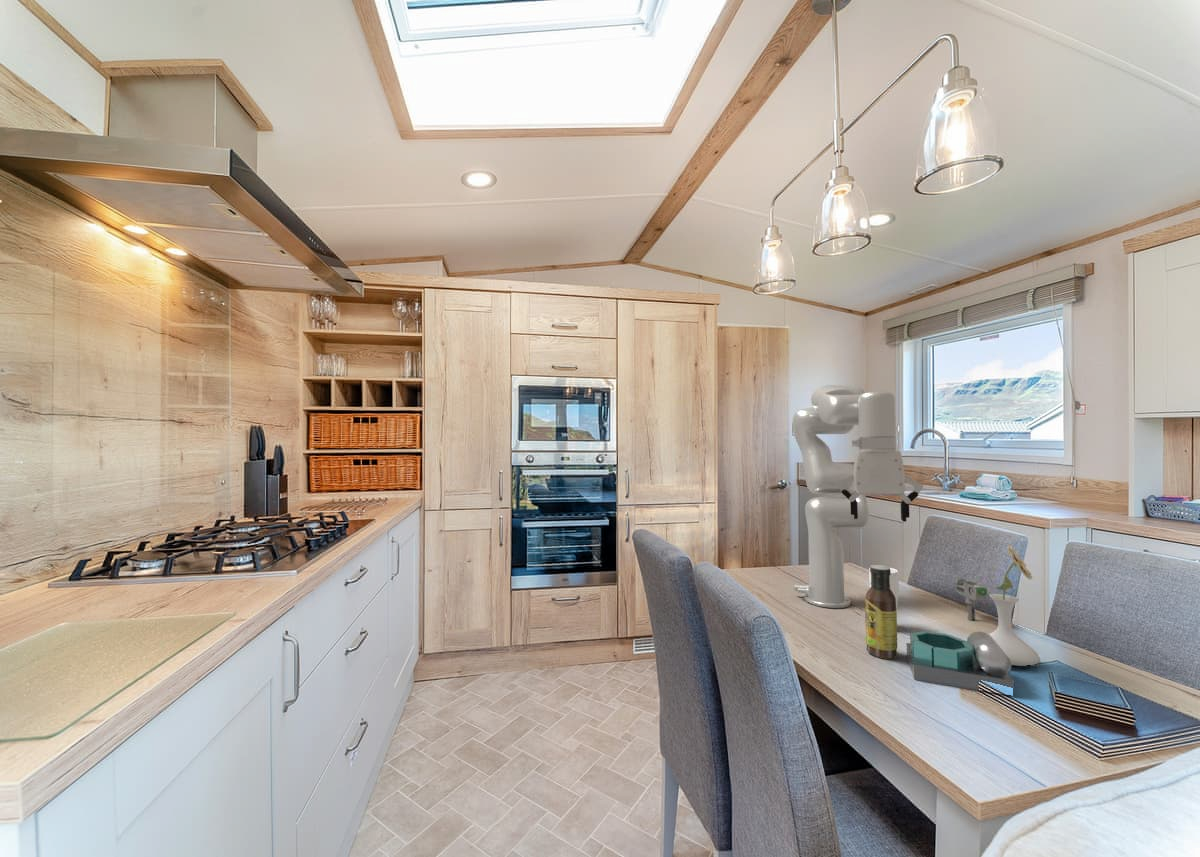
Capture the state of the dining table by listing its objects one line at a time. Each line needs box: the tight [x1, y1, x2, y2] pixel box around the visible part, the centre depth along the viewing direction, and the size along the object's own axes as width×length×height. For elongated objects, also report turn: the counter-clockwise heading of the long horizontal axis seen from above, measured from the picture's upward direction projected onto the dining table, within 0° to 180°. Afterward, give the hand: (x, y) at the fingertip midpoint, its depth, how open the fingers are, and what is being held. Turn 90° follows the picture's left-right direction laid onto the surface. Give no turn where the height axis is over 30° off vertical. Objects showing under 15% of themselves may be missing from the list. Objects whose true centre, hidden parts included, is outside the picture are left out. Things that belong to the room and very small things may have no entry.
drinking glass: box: [868, 567, 900, 610], centre depth 128 cm, size 7×7×15 cm
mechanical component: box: [955, 578, 988, 621], centre depth 133 cm, size 3×10×10 cm, turn 174°
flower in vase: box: [988, 544, 1041, 667], centre depth 109 cm, size 13×11×25 cm
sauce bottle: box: [864, 564, 898, 660], centre depth 112 cm, size 6×6×20 cm
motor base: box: [906, 630, 1015, 692], centre depth 102 cm, size 16×12×8 cm
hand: (879, 519), depth 113 cm, fingers open, 9 cm apart
